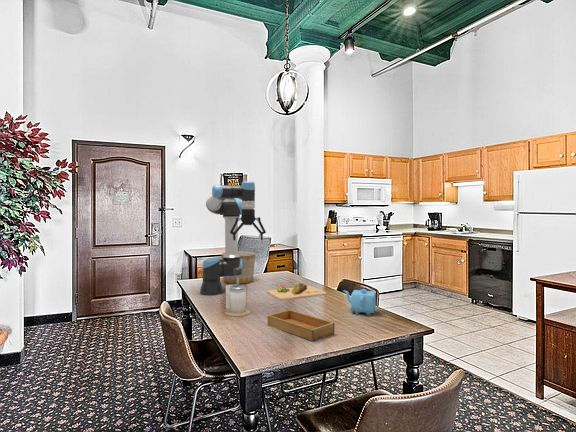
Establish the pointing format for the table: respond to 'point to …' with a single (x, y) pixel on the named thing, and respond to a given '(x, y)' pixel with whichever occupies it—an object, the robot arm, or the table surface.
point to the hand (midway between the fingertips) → (247, 246)
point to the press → (236, 303)
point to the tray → (301, 324)
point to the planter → (243, 269)
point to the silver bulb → (237, 287)
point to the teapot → (362, 301)
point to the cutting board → (295, 292)
